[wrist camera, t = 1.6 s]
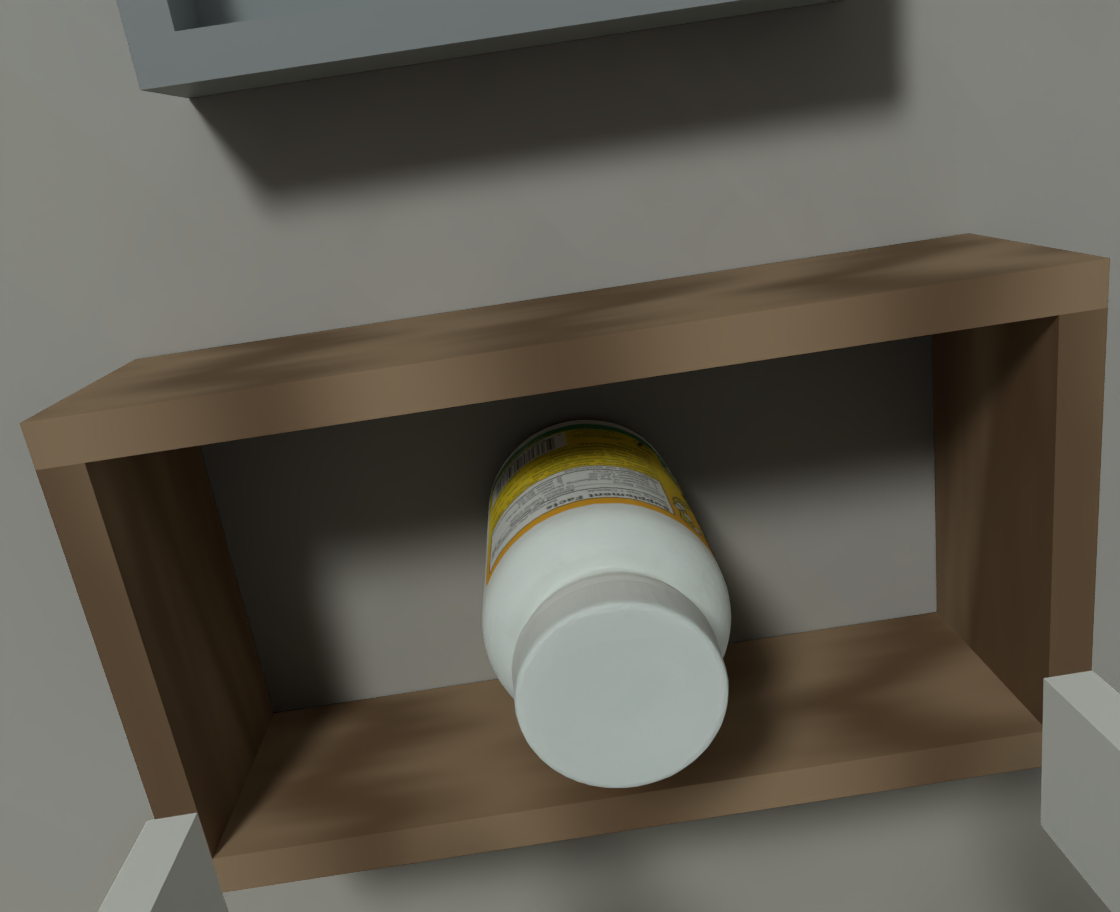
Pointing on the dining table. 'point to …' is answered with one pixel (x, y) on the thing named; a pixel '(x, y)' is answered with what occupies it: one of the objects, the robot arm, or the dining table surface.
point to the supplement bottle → (604, 607)
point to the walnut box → (486, 707)
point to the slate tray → (369, 34)
